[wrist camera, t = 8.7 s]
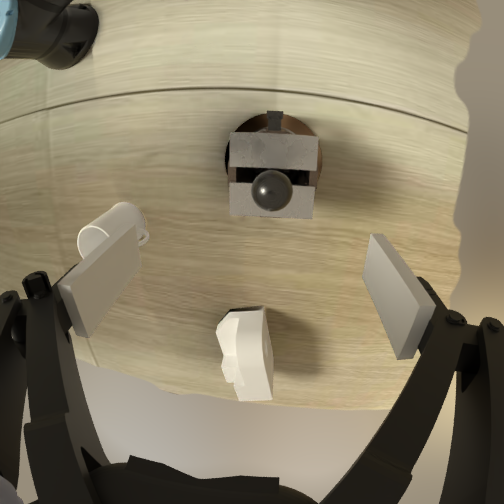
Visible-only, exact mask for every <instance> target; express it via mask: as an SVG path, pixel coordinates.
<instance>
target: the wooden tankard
mask: <svg viewBox="0 0 504 504" xmlns="http://www.w3.org/2000/svg"><path fill="white" fill-rule="evenodd" d="M267 119H268V127H264V128H260V129H258V130H256V131H254V132H253V133H249V132H230V160H229V161H228V186H229V188H230V215H240V216H260V217H273V218H299V219H312V216H313V205H314V194H315V191H316V189H317V177H318V165H317V156H318V140H319V137H318V136H308V135H296V134H295V133H293V132H292V131H290V130H288V129H286V128H282V127H281V119H283V111H267ZM251 167H258V168H280V169H296V170H295V172H294V174H293V176H292V177H291V178H290V179H289V180H290V182H291V184H292V187H293V195H292V198H291V201H290V202H289V204H288V205H287V206H286V207H285V208H283V209H281V210H279V211H274V212H270V211H265V210H263V209H261V208H260V207H258V206H257V205H256V204H255V202H254V200H253V198H252V195H251V187H252V183H253V181H254V180H255V178H256V177H255V176H254V174H253V172H252V170H251Z"/></svg>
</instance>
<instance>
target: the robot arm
mask: <svg viewBox="0 0 504 504" xmlns="http://www.w3.org/2000/svg"><path fill="white" fill-rule="evenodd" d="M72 1H73V0H0V59H35V60H37V61H39V62H40V63H42V64H44V65H45V66H46V67H48V68H51V69H56V70H63V69H67V68H69V67H71V66H73V65H75V64H76V63H77V62H79V61H80V60H81V59H82V58H83V57H84V56H85V54H86V53H87V52H88V50H89V49H90V47H91V46H92V44H93V42H94V40H95V37H96V35H97V31H98V25H99V20H98V15H97V13H96V11H95V10H94V9H93V8H92V7H90V6H88V5H85V4H70V3H71V2H72ZM141 267H142V263H141V258H140V252H139V246H138V239H137V233H136V226H135V224H123V225H122V226H121V227H120V228H119V229H117V230H116V231H115V232H114V233H113V234H111V235H110V236H109V237H108V238H107V239H106V240H104V241H103V242H102V243H101V244H100V245H99V246H98V247H96V248H95V249H94V250H93V251H92V252H91V253H90V254H89V255H87V256H86V257H85V258H84V259H83V260H82V261H81V262H80V263H78V264H76V265H74V266H73V267H72V268H71V269H70V270H69V271H68V272H67V273H66V274H65V275H64V276H62V277H61V278H60V279H59V280H58V281H57V282H56V283H55V284H54V285H53V286H52V287H51V285H50V282H49V279H48V276H47V273H46V272H44V271H37V272H34V273H31V274H29V275H28V276H26V277H25V278H24V279H23V281H22V284H23V287H24V290H25V292H26V295H27V297H28V299H22V300H20V298H19V295H18V293H17V291H14V290H13V291H6V292H4V293H3V294H2V295H1V296H0V504H23V501H22V499H21V498H20V497H18V496H17V492H16V489H17V484H18V477H19V462H20V441H21V429H22V419H23V411H24V403H25V396H26V390H27V388H28V399H29V409H30V417H31V422H30V423H26V424H25V425H24V437H25V444H26V449H27V455H28V460H29V464H30V469H31V473H32V477H33V481H34V485H35V489H36V492H37V496H38V500H36V501H34V502H31V503H29V504H318V503H317V502H316V501H314V500H313V499H312V498H310V497H309V496H307V495H305V494H303V493H301V492H299V491H297V490H295V489H292V488H289V487H286V486H282V485H279V477H253V476H233V477H223V478H212V479H198V478H195V477H192V476H190V475H187V474H185V473H183V472H180V471H178V470H176V469H174V468H172V467H169V466H167V465H165V464H163V463H158V462H154V461H150V460H146V459H142V458H138V457H135V456H132V455H130V457H129V460H128V462H127V463H115V464H111V463H110V462H109V460H108V459H107V457H106V455H105V453H104V451H103V448H102V446H101V444H100V441H99V438H98V435H97V433H96V430H95V427H94V424H93V421H92V418H91V415H90V412H89V409H88V405H87V402H86V399H85V395H84V391H83V388H82V384H81V381H80V376H79V372H78V368H77V364H76V359H75V355H74V350H73V345H72V340H71V336H70V333H69V331H68V330H69V329H70V328H71V326H73V328H74V331H75V333H76V335H77V336H81V337H86V338H90V336H91V335H92V334H93V332H94V331H95V329H96V328H97V326H98V325H99V324H100V322H101V321H102V319H103V318H104V317H105V315H106V314H107V312H108V311H109V310H110V308H111V307H112V305H113V304H114V303H115V301H116V300H117V299H118V297H119V296H120V295H121V293H122V292H123V291H124V289H125V288H126V287H127V285H128V284H129V283H130V281H131V280H132V279H133V277H134V276H135V275H136V274H137V272H138V271H139V270H140V268H141ZM362 278H363V280H364V282H365V284H366V287H367V289H368V291H369V293H370V295H371V298H372V300H373V302H374V304H375V307H376V309H377V311H378V314H379V316H380V318H381V321H382V323H383V325H384V328H385V330H386V333H387V335H388V338H389V340H390V343H391V345H392V348H393V350H394V353H395V355H396V358H397V360H402V359H413V357H414V355H415V353H416V351H417V349H419V351H420V353H421V356H420V358H419V360H418V362H417V364H416V366H415V367H414V369H413V371H412V374H411V375H410V377H409V379H408V381H407V383H406V385H405V386H404V388H403V390H402V392H401V394H400V395H399V397H398V399H397V400H396V402H395V404H394V405H393V407H392V409H391V410H390V412H389V414H388V415H387V417H386V418H385V420H384V421H383V423H382V425H381V426H380V428H379V429H378V431H377V432H376V434H375V435H374V437H373V438H372V439H371V441H370V442H369V444H368V445H367V446H366V448H365V449H364V451H363V452H362V453H361V455H360V456H359V457H358V459H357V460H356V461H355V462H354V464H353V465H352V466H351V468H350V469H349V470H348V471H347V473H346V474H345V475H344V476H343V478H342V479H341V480H340V481H339V482H338V483H337V484H336V486H335V487H334V488H333V489H332V490H331V491H330V492H329V494H328V495H327V496H326V497H325V498H324V499H323V500H322V501H321V502H320V503H319V504H398V502H399V500H400V499H401V497H402V496H403V494H404V493H405V491H406V489H407V487H408V486H409V484H410V482H411V480H412V475H411V471H412V469H413V467H414V465H415V463H416V461H417V460H418V458H419V456H420V454H421V452H422V450H423V448H424V446H425V444H426V442H427V440H428V438H429V436H430V433H431V431H432V429H433V427H434V424H435V422H436V420H437V417H438V415H439V413H440V410H441V408H442V405H443V403H444V400H445V398H446V395H447V392H448V389H449V387H450V384H451V381H452V378H453V375H454V372H455V371H457V374H456V402H455V403H456V404H455V417H454V427H453V435H452V442H451V449H450V456H449V461H448V467H447V472H446V477H445V482H444V486H443V490H442V494H441V498H440V502H439V504H504V326H503V325H502V324H501V322H500V321H499V320H497V319H494V318H492V317H486V318H483V320H482V321H481V323H480V325H479V326H475V325H470V324H467V321H466V319H465V317H464V316H462V315H461V314H460V313H458V312H456V311H453V310H448V309H447V308H446V306H445V305H444V304H443V302H442V301H441V299H440V298H439V297H438V295H436V292H435V291H434V290H433V288H432V287H431V286H430V284H429V283H428V282H427V281H426V280H424V279H423V278H422V277H416V276H415V275H414V273H413V272H412V270H411V269H410V268H409V266H408V265H407V264H406V262H405V261H404V260H403V258H402V257H401V256H400V255H399V253H398V252H397V251H396V249H395V248H394V247H393V246H392V244H391V243H390V242H389V241H388V239H387V238H386V237H385V236H384V234H375V233H371V235H370V240H369V246H368V251H367V256H366V261H365V266H364V271H363V275H362ZM12 337H13V339H12Z"/></svg>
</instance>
